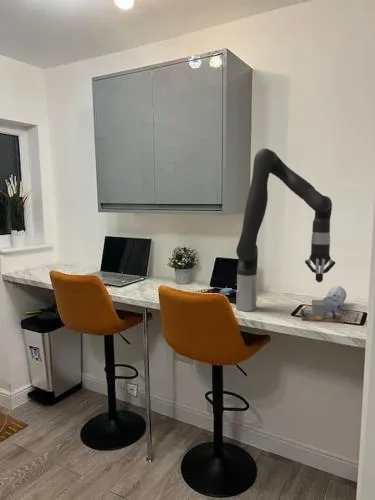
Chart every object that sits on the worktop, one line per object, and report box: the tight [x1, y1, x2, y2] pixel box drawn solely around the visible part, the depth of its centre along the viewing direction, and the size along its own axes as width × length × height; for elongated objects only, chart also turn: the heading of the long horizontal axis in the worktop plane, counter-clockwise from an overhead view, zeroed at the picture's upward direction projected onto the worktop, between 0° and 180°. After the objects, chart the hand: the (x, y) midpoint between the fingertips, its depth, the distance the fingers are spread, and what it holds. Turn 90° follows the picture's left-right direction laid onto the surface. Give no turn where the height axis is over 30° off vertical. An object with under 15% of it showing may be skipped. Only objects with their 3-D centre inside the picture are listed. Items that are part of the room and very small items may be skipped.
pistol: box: [219, 287, 236, 296], centre depth 203 cm, size 4×16×15 cm
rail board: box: [300, 308, 345, 324], centre depth 160 cm, size 17×9×3 cm, turn 76°
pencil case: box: [322, 285, 347, 313], centre depth 174 cm, size 21×9×10 cm, turn 150°
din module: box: [311, 299, 325, 320], centre depth 160 cm, size 4×9×6 cm, turn 165°
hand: (319, 281), depth 159 cm, fingers closed
